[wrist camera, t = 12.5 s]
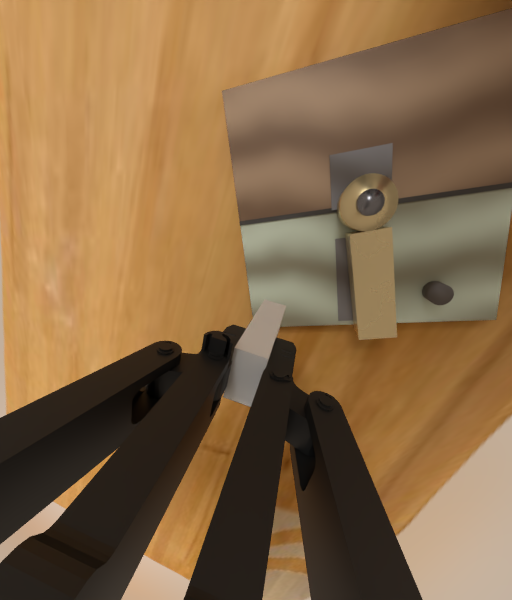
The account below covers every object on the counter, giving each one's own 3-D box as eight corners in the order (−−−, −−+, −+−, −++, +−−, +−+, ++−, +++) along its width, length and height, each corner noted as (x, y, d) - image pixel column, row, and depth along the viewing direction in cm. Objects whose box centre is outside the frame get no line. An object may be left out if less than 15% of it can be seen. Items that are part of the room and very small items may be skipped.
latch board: (226, 97, 22) (215, 81, 20) (526, 14, 17) (563, -23, 14) (256, 323, 28) (251, 333, 26) (487, 315, 23) (508, 326, 20)
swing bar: (334, 186, 21) (338, 178, 17) (385, 175, 20) (401, 164, 16) (348, 327, 24) (354, 344, 21) (392, 323, 23) (407, 341, 20)
